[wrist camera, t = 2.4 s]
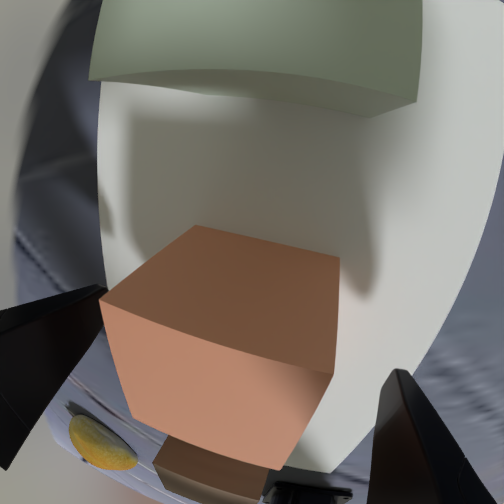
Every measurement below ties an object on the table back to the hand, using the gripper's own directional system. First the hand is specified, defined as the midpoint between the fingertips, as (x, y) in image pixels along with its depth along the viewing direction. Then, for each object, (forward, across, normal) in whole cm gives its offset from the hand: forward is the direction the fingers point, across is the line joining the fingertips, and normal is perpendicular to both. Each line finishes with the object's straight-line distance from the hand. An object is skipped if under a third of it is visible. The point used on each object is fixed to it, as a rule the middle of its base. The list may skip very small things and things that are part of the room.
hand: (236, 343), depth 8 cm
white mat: (+3, 0, 0) cm, 3 cm away
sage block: (+2, 0, -9) cm, 9 cm away
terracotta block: (+2, 0, 0) cm, 2 cm away
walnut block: (+2, 0, +8) cm, 9 cm away
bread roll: (+3, +14, +25) cm, 29 cm away
